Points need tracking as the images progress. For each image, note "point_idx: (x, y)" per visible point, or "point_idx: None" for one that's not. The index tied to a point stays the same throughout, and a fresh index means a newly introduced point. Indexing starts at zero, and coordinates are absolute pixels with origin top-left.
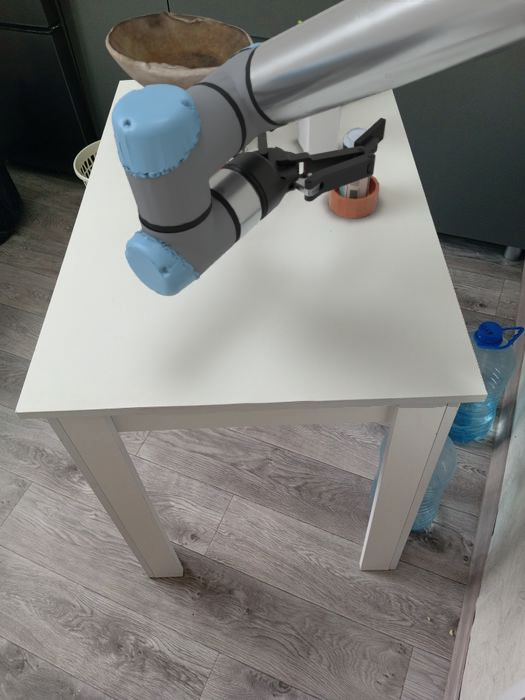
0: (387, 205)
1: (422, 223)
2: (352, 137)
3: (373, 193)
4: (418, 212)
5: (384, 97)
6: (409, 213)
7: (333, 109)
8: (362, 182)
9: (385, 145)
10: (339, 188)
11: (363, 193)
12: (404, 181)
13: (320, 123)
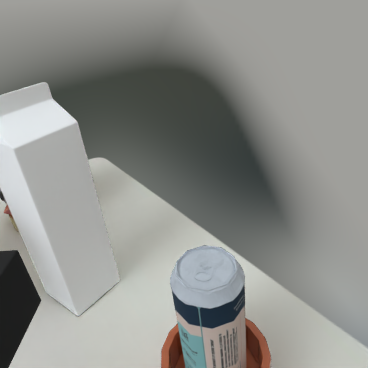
0: (276, 347)
1: (364, 355)
2: (196, 279)
3: (264, 353)
4: (332, 333)
5: (132, 182)
6: (323, 344)
7: (93, 226)
8: (242, 349)
9: (180, 238)
10: (176, 361)
11: (245, 363)
12: (255, 283)
13: (79, 256)
